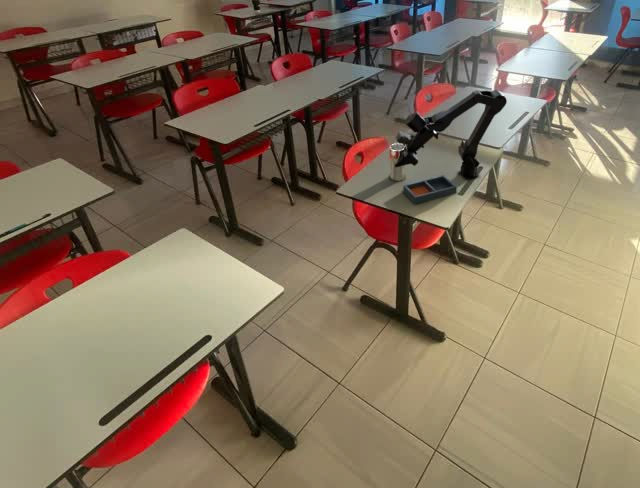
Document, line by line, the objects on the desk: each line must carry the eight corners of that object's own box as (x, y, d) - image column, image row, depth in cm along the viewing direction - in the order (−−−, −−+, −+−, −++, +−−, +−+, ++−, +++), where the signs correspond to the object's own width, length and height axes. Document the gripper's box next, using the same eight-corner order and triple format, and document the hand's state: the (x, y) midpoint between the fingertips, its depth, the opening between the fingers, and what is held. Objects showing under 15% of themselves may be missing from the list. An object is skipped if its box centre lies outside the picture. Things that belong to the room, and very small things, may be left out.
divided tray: (442, 181, 180) (443, 175, 178) (455, 192, 172) (456, 186, 171) (403, 191, 173) (403, 185, 171) (414, 204, 165) (415, 197, 164)
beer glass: (407, 175, 184) (408, 145, 176) (401, 182, 179) (401, 152, 171) (393, 171, 186) (393, 142, 178) (386, 179, 181) (386, 149, 173)
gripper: (404, 117, 178) (379, 141, 183) (411, 136, 162) (383, 162, 167) (422, 133, 183) (396, 156, 188) (429, 153, 167) (401, 178, 172)
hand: (394, 162), depth 178 cm, fingers closed on beer glass, 7 cm apart
